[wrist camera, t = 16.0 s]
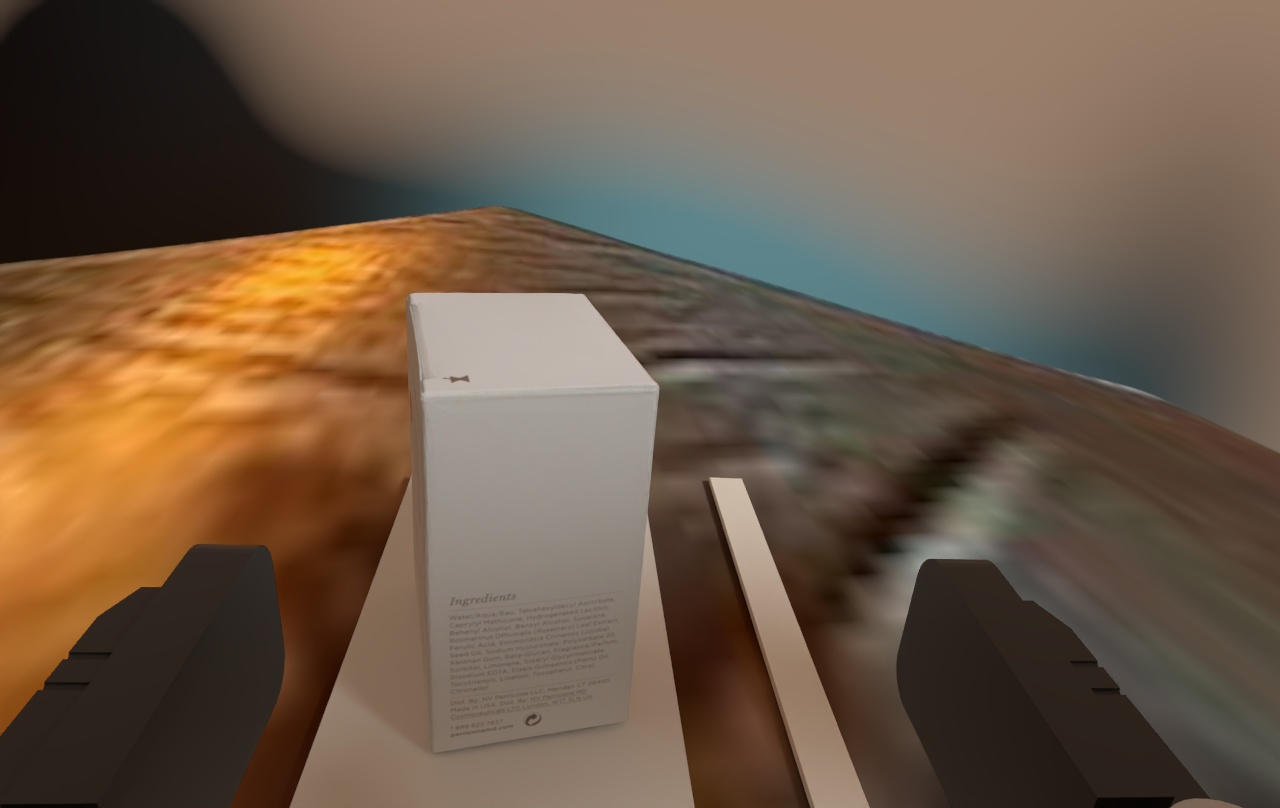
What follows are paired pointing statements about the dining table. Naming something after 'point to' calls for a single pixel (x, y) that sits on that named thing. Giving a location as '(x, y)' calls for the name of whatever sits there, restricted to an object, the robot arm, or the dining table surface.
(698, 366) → the dining table surface
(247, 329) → the dining table surface
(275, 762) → the dining table surface
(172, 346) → the dining table surface
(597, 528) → the small box
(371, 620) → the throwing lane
